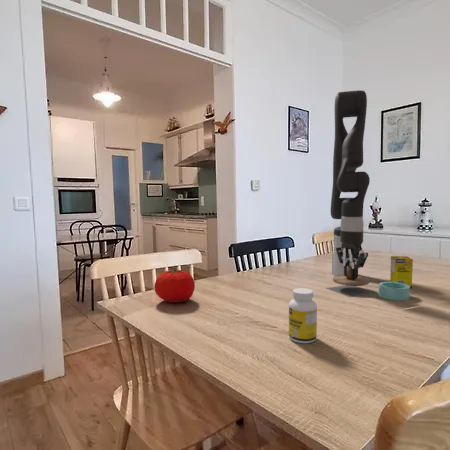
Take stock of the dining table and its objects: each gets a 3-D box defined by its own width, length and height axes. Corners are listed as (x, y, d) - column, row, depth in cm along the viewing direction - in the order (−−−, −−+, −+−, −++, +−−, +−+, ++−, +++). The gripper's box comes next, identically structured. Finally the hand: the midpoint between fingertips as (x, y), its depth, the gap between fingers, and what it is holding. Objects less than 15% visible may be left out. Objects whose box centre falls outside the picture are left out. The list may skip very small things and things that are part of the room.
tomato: (201, 297, 112) (200, 267, 111) (185, 309, 101) (184, 275, 100) (166, 294, 117) (165, 264, 116) (147, 305, 105) (146, 272, 104)
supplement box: (412, 288, 120) (413, 258, 119) (394, 287, 121) (395, 258, 120) (406, 284, 126) (407, 256, 125) (389, 283, 127) (390, 255, 126)
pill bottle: (285, 333, 82) (285, 287, 81) (311, 332, 82) (311, 286, 81) (293, 345, 75) (293, 295, 74) (320, 343, 76) (321, 294, 75)
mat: (326, 289, 121) (326, 288, 120) (351, 285, 125) (351, 284, 125) (350, 298, 109) (350, 297, 109) (377, 293, 114) (377, 292, 114)
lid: (325, 279, 121) (326, 264, 120) (351, 275, 125) (351, 261, 125) (349, 287, 110) (349, 271, 109) (376, 283, 114) (377, 268, 114)
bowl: (372, 295, 113) (373, 283, 112) (392, 292, 116) (392, 280, 116) (395, 302, 104) (395, 290, 104) (415, 299, 108) (416, 287, 107)
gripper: (329, 227, 121) (329, 274, 122) (358, 232, 108) (357, 283, 110) (346, 226, 123) (345, 272, 125) (375, 230, 111) (374, 281, 112)
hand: (350, 277), depth 117 cm, fingers closed on lid, 2 cm apart
